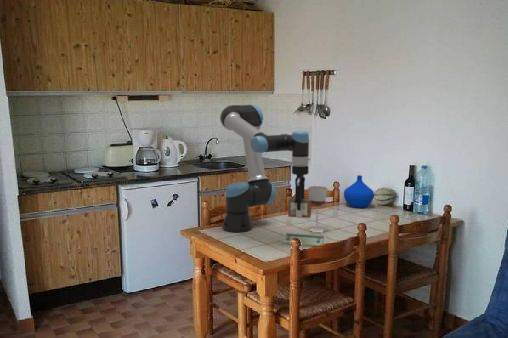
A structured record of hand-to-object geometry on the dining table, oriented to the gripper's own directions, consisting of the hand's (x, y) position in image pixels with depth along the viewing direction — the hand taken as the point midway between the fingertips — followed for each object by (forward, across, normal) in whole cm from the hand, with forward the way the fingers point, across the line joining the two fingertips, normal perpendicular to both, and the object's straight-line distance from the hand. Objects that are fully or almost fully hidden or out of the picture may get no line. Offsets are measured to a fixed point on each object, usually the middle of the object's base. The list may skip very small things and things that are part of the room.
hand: (299, 215), depth 212 cm
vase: (+13, +80, -24) cm, 85 cm away
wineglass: (+13, +22, -5) cm, 26 cm away
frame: (0, 0, 0) cm, 0 cm away
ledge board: (+13, +2, -1) cm, 13 cm away
